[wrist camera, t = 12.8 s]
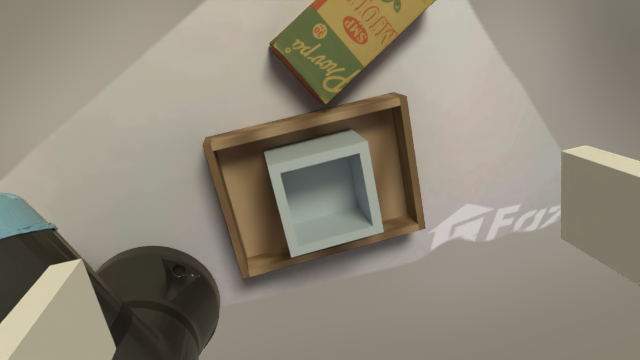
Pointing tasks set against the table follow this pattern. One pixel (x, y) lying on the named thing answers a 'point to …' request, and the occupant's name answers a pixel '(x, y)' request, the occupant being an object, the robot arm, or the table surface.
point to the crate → (248, 143)
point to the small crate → (325, 191)
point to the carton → (341, 39)
